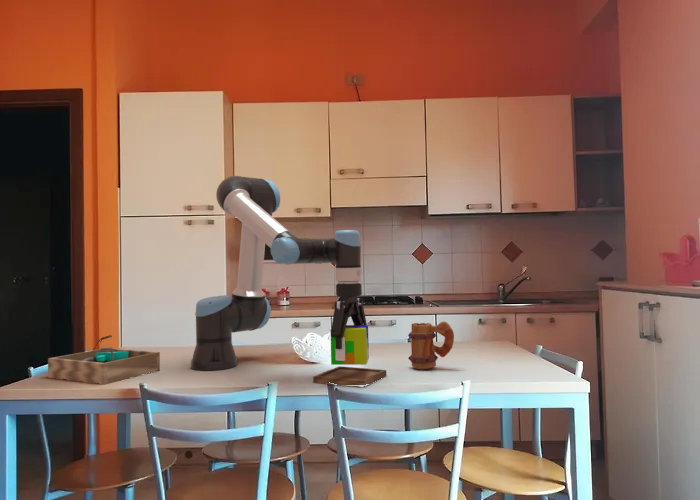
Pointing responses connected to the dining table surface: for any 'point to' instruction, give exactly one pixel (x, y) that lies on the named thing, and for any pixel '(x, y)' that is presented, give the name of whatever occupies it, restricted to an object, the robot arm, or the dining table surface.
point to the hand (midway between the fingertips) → (350, 356)
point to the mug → (429, 344)
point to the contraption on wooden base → (107, 354)
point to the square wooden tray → (349, 376)
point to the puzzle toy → (353, 346)
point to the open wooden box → (103, 366)
